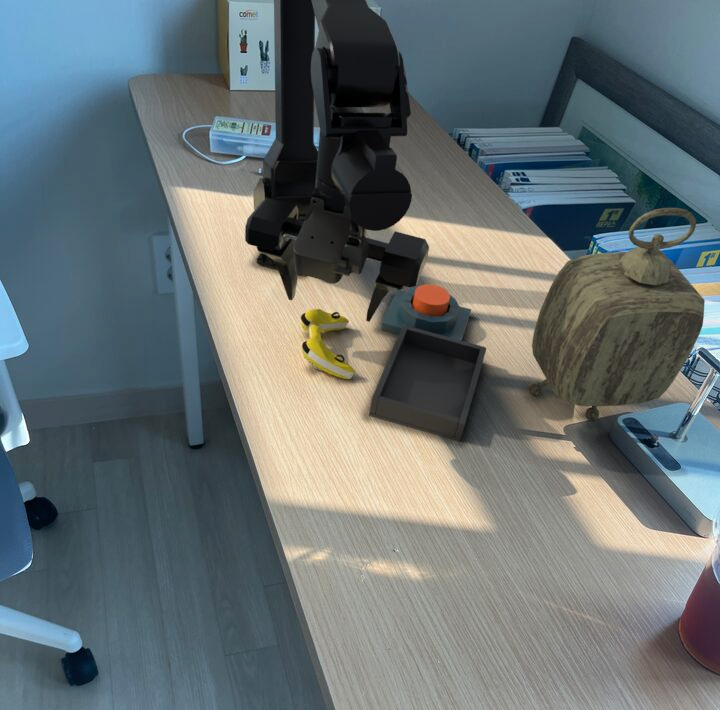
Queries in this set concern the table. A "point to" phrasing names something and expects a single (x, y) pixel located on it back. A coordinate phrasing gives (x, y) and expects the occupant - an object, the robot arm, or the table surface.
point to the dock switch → (425, 317)
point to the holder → (428, 383)
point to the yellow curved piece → (316, 348)
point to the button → (431, 300)
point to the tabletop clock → (618, 324)
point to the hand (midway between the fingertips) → (330, 308)
